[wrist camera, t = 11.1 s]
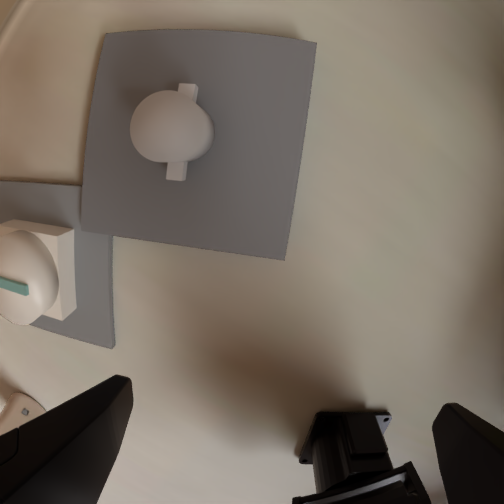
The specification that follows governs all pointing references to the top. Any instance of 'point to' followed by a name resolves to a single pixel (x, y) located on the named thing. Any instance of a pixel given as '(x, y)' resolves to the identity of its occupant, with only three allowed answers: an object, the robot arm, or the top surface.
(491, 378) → the top surface
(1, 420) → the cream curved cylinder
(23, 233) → the cream domed square block
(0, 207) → the mat
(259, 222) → the plinth
